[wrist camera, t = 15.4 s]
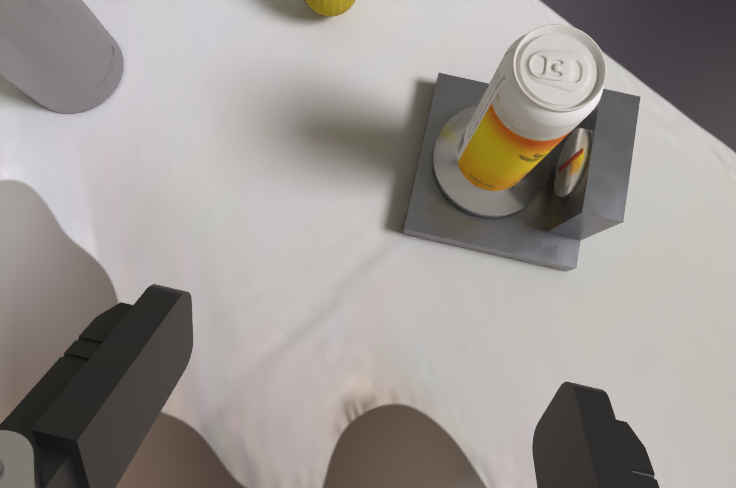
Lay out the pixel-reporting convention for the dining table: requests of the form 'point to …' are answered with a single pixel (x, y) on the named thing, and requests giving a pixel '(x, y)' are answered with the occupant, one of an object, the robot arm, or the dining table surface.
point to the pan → (469, 194)
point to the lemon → (330, 6)
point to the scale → (555, 202)
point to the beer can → (531, 105)
